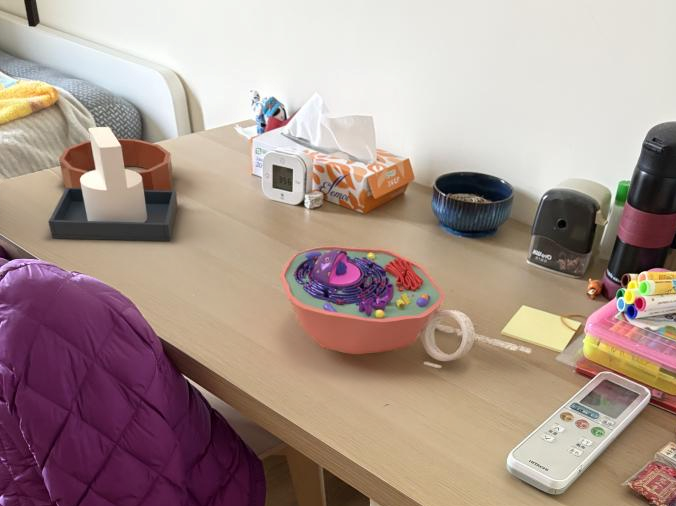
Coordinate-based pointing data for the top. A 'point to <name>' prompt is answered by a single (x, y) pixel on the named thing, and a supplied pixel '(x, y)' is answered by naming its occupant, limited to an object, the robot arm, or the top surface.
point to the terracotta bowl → (134, 154)
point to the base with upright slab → (111, 183)
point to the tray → (75, 225)
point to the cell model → (360, 298)
